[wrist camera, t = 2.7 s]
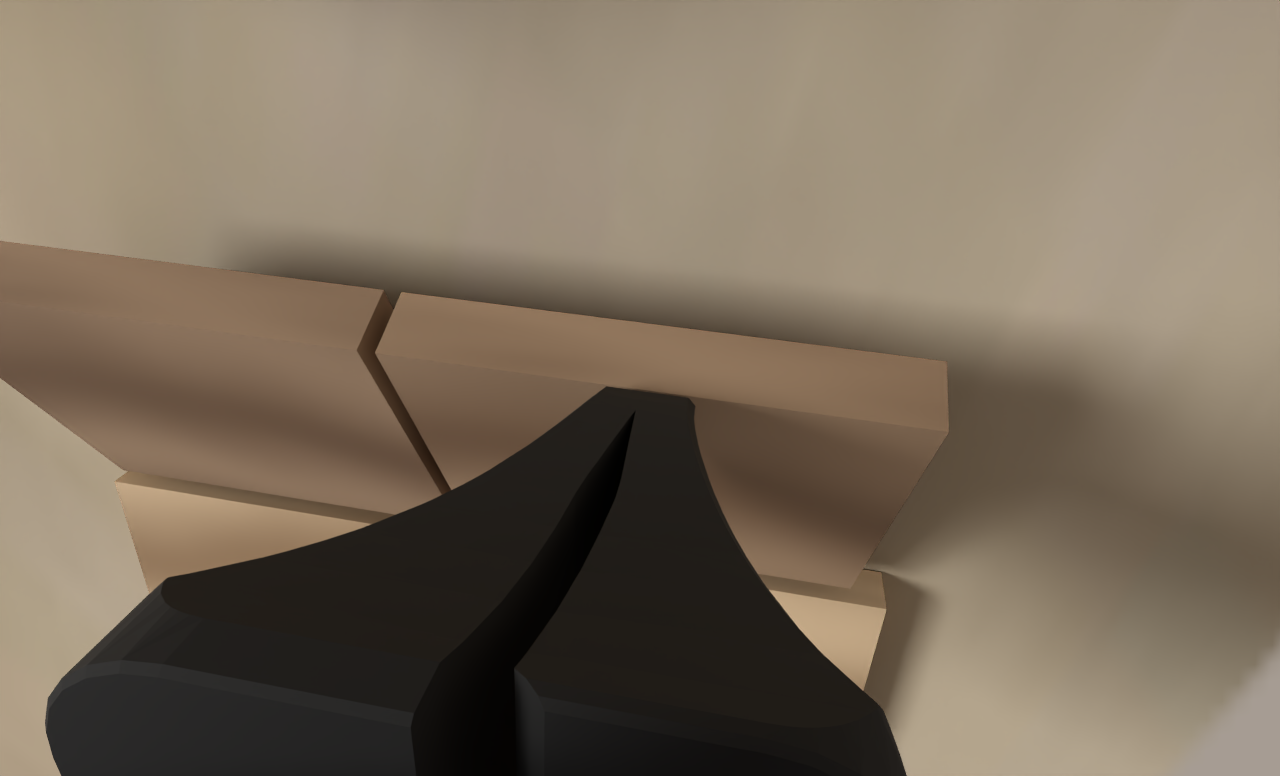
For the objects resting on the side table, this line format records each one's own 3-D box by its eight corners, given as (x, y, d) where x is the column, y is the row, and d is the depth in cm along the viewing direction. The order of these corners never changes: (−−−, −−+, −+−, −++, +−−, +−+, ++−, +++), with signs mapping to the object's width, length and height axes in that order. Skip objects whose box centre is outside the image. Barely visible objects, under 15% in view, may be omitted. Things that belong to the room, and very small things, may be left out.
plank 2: (852, 536, 18) (850, 588, 17) (486, 479, 19) (472, 526, 18) (947, 361, 12) (949, 431, 11) (401, 292, 13) (375, 352, 12)
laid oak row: (810, 832, 23) (811, 872, 22) (221, 713, 25) (197, 746, 24) (881, 572, 18) (886, 609, 17) (149, 455, 20) (114, 481, 19)
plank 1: (474, 478, 19) (459, 524, 18) (148, 427, 20) (123, 469, 19) (383, 289, 13) (355, 350, 12) (-78, 231, 14) (-126, 284, 13)
